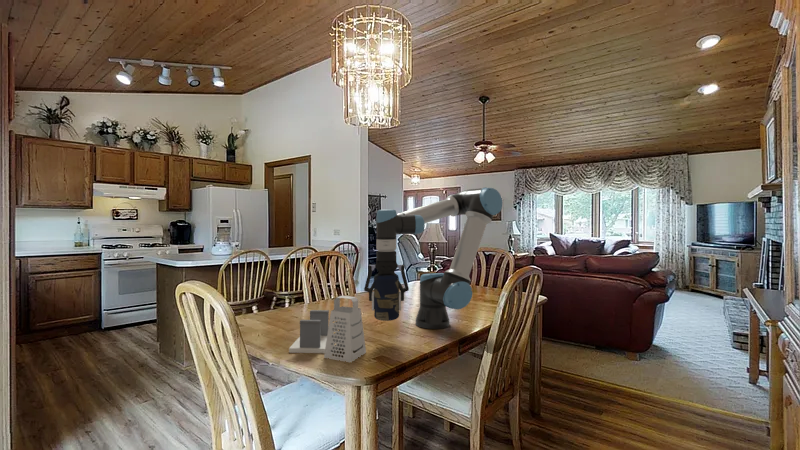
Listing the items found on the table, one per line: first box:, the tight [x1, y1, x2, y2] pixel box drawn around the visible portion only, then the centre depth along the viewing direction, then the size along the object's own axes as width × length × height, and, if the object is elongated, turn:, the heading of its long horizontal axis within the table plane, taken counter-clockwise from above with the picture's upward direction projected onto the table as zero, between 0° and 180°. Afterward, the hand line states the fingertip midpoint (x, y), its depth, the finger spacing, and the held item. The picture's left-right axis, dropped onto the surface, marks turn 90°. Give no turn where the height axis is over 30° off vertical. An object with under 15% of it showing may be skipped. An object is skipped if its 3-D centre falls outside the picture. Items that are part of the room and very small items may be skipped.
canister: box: [373, 273, 400, 322], centre depth 143 cm, size 10×10×18 cm
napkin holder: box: [288, 309, 330, 354], centre depth 141 cm, size 14×17×11 cm
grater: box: [323, 295, 367, 363], centre depth 131 cm, size 10×10×20 cm
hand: (386, 309), depth 144 cm, fingers closed on canister, 9 cm apart
